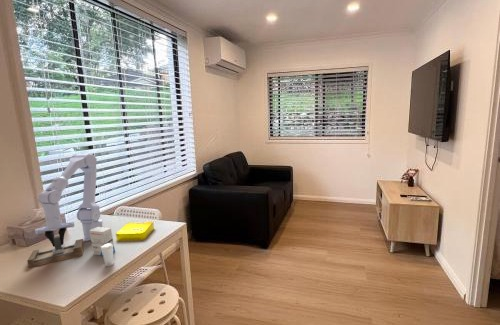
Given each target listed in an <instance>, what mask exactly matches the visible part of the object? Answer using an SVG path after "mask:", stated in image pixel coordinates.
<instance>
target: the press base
mask: <svg viewBox="0 0 500 325" xmlns="http://www.w3.org/2000/svg"><path fill="white" fill-rule="evenodd" d="M83 239H84V238H80V239H76V240H75V243H74V244H72V245H71V244H70V245H65V246H66V250H65V252H64V253H62V254H58V255H53V249H54V248H53V249H48V250H43V251H39V249H35V250H32V252H31V253H30V255H29V257H28V259H27V265H28V268H33V267H37V266H42V265H45V264H46V265H47V264H50V263H51V264H52V263H55V262H58V261H62V260H68V259H71V258H77V257H81V256H83V254H84V249H85V244H84V242H85V241H84V242H83Z"/></svg>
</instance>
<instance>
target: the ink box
mask: <svg viewBox="0 0 500 325" xmlns="http://www.w3.org/2000/svg"><path fill="white" fill-rule="evenodd" d="M89 233H90V238H91V240H90V242H91V248H92V253H93V255H94V256H95V255H98V256H103V254H102V251H101V247H102V246H103V245H104V244H107V243H111V244H112V245H113V253H115V251H116V250H115V244H114V238H113V233H112V228H111V227H104V226H103V227H96V228H94V229H92V230H90V231H89ZM98 243H99V244H100V245H101V247H100V245H99V244H98Z"/></svg>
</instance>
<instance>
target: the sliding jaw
mask: <svg viewBox="0 0 500 325" xmlns="http://www.w3.org/2000/svg"><path fill="white" fill-rule="evenodd" d="M53 240H54V244H55V247H53V255H58V254H62V253H64V252H65V250H66V246H67V245H66V243H63V245H61V241H60V236H59V235H56V236H54V238H53Z"/></svg>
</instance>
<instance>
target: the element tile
mask: <svg viewBox="0 0 500 325" xmlns="http://www.w3.org/2000/svg"><path fill="white" fill-rule="evenodd" d="M154 229H155V226H154V222H153V221H138V222H137V221H136V222H135V221H134V222H127V223H126V224H124V226H122V227H121V228H120V229H118V231H116V233H115V236H116V241H117V242H128V241H129V242H130V241H132V242H133V241H144V240H146V239H147V238H148V237H149V236H150V235H151V234H152V232H153V231H154Z"/></svg>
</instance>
